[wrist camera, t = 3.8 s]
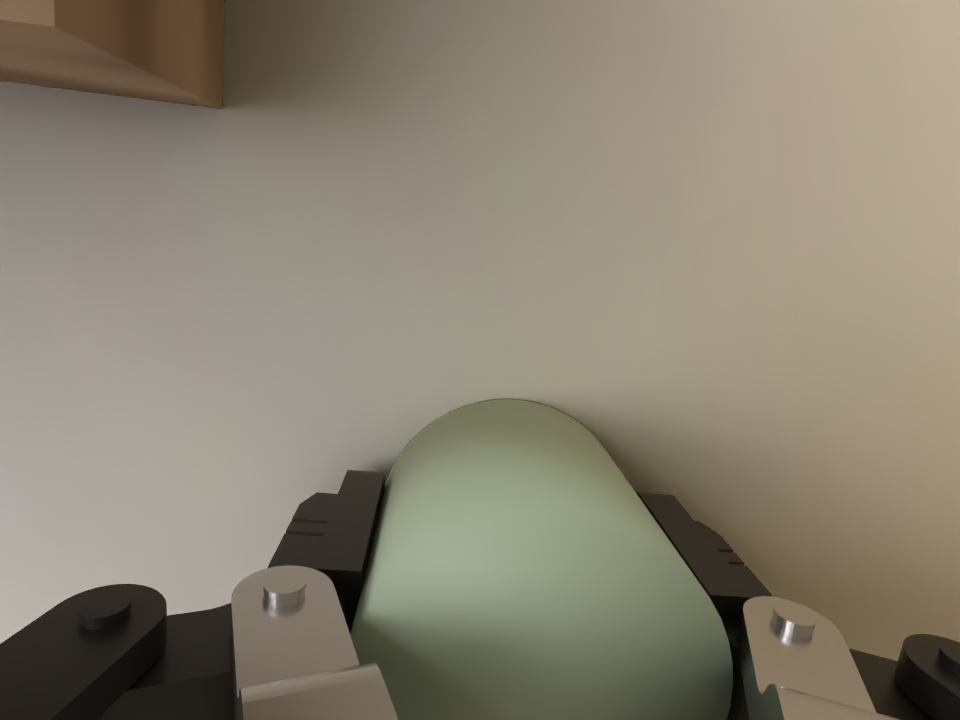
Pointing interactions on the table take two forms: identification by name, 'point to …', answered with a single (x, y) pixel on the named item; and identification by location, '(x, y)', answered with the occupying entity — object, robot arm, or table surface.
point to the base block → (117, 47)
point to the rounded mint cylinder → (531, 582)
